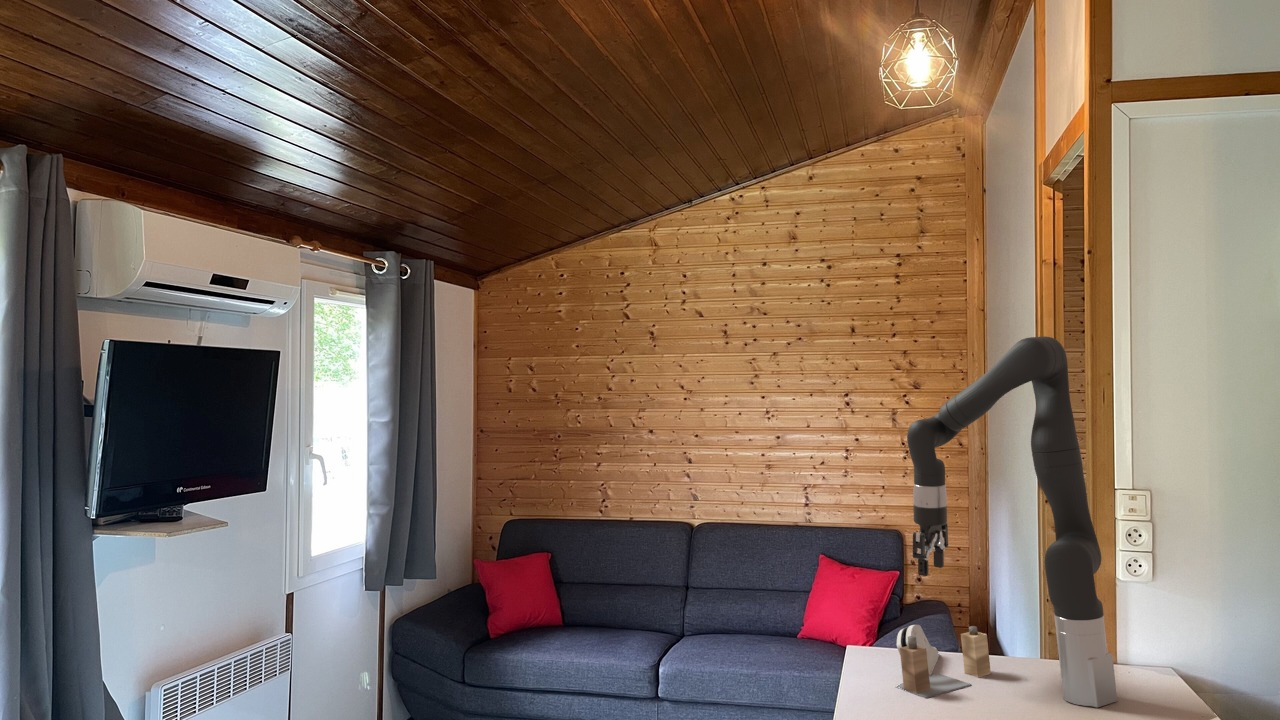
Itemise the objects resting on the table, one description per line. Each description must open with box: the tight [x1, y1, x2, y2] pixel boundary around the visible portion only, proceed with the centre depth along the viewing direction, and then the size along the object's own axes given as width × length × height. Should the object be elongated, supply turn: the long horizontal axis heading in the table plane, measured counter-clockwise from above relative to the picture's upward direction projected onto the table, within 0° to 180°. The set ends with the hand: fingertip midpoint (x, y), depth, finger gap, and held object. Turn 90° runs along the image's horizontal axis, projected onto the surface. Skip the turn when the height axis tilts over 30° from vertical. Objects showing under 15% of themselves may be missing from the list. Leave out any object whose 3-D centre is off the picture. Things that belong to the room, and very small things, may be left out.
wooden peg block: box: [960, 625, 992, 678], centre depth 208 cm, size 4×4×11 cm
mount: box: [896, 636, 972, 699], centre depth 203 cm, size 10×13×12 cm
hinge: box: [896, 624, 940, 676], centre depth 219 cm, size 17×5×10 cm, turn 155°
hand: (931, 571), depth 213 cm, fingers open, 8 cm apart
